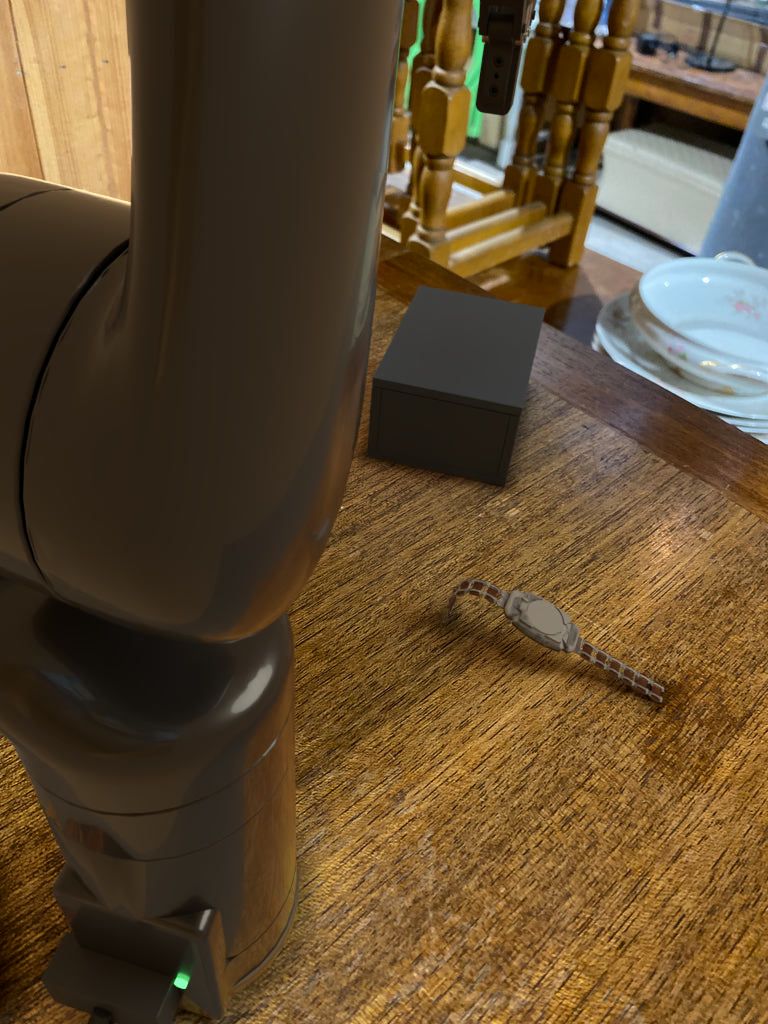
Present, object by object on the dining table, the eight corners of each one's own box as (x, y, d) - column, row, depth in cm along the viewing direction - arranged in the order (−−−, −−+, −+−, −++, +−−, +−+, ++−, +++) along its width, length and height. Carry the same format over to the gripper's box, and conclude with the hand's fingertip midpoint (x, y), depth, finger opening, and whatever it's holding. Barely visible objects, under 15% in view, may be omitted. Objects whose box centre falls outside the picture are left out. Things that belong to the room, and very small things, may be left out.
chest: (409, 363, 76) (416, 299, 71) (527, 387, 74) (542, 322, 70) (366, 456, 65) (371, 386, 60) (504, 486, 63) (520, 417, 58)
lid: (418, 293, 72) (419, 284, 71) (543, 316, 70) (545, 308, 70) (371, 386, 60) (372, 377, 59) (520, 416, 58) (522, 407, 58)
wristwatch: (445, 595, 53) (476, 553, 50) (629, 705, 53) (673, 670, 49) (427, 633, 51) (458, 590, 47) (619, 748, 50) (666, 714, 47)
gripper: (496, -264, 44) (454, 81, 55) (454, -303, 34) (412, 128, 45) (632, -253, 43) (560, 97, 54) (629, -290, 33) (542, 148, 44)
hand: (493, 111), depth 49 cm, fingers closed
